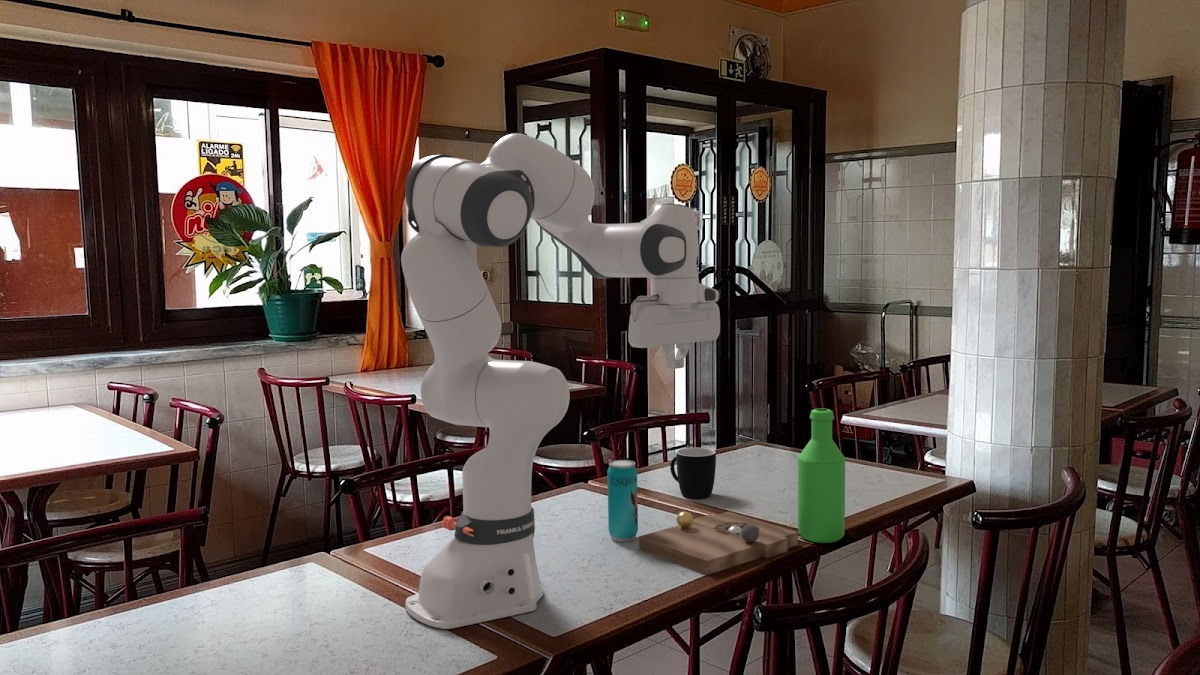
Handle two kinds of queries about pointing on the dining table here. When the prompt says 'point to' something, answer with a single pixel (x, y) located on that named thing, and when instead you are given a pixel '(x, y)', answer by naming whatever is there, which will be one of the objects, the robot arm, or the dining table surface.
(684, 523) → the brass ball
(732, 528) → the steel ball
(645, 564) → the dining table surface
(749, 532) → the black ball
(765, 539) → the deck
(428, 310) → the robot arm
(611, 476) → the beverage can
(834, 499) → the bottle
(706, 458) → the mug
